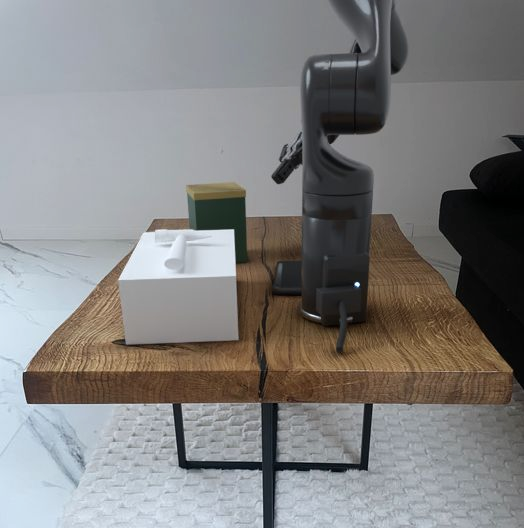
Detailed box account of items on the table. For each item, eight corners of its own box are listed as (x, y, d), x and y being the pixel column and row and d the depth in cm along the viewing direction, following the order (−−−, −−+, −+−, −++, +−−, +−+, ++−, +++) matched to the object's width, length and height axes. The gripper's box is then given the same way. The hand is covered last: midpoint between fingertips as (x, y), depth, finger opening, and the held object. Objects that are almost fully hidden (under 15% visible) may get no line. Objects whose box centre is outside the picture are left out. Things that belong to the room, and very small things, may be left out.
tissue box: (236, 280, 100) (233, 214, 96) (238, 340, 78) (235, 257, 73) (149, 283, 100) (142, 217, 95) (126, 344, 77) (115, 261, 73)
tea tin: (248, 262, 110) (245, 189, 105) (198, 266, 108) (193, 193, 103) (237, 249, 119) (234, 182, 113) (190, 253, 117) (185, 185, 111)
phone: (272, 287, 93) (277, 260, 106) (272, 294, 93) (277, 266, 107) (323, 288, 92) (322, 260, 106) (323, 295, 93) (322, 266, 106)
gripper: (299, 105, 115) (245, 170, 111) (339, 86, 103) (280, 158, 100) (323, 135, 118) (272, 199, 114) (365, 120, 106) (309, 191, 103)
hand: (276, 180), depth 107 cm, fingers closed
